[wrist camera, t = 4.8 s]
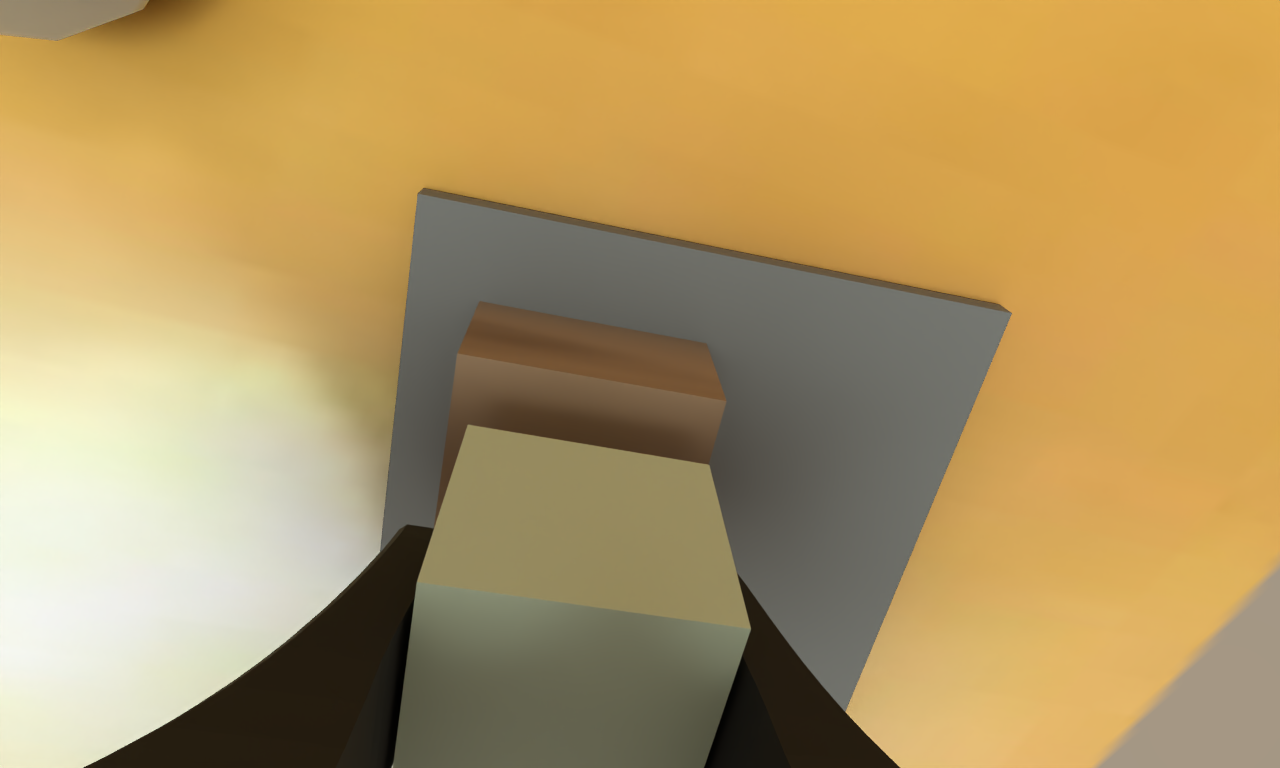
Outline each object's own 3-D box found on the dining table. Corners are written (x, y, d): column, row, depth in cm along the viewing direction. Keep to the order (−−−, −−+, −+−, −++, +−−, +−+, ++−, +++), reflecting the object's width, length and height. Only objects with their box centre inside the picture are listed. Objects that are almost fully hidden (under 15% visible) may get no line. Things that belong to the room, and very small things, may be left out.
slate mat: (807, 771, 24) (812, 789, 24) (366, 720, 23) (360, 737, 22) (999, 304, 18) (1012, 313, 18) (423, 188, 17) (418, 193, 16)
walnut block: (657, 530, 20) (666, 612, 17) (451, 498, 19) (426, 578, 16) (706, 343, 18) (726, 401, 15) (479, 301, 17) (456, 353, 14)
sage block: (656, 649, 15) (675, 850, 11) (439, 620, 14) (385, 821, 11) (709, 464, 13) (751, 629, 10) (468, 424, 13) (416, 581, 9)
